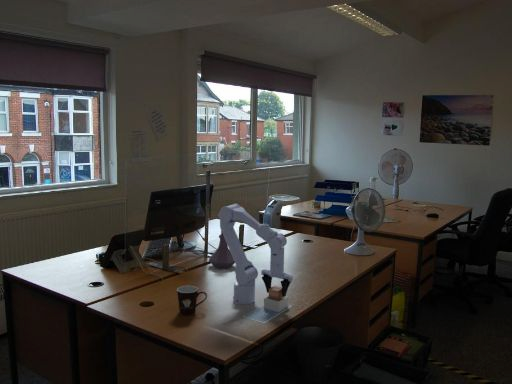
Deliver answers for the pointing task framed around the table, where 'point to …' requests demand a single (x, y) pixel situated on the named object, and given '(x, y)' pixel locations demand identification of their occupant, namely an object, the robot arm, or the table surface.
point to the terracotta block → (275, 293)
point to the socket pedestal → (276, 304)
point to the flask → (222, 255)
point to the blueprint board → (263, 314)
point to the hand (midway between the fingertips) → (276, 294)
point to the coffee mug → (188, 299)
